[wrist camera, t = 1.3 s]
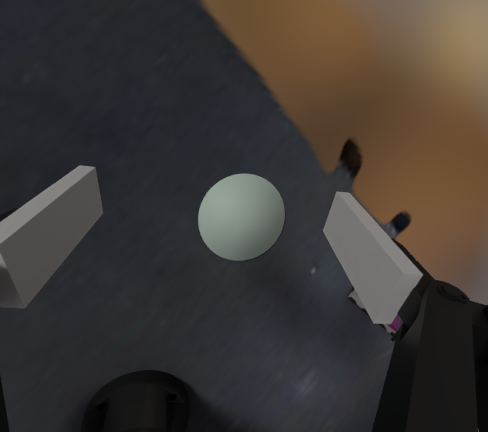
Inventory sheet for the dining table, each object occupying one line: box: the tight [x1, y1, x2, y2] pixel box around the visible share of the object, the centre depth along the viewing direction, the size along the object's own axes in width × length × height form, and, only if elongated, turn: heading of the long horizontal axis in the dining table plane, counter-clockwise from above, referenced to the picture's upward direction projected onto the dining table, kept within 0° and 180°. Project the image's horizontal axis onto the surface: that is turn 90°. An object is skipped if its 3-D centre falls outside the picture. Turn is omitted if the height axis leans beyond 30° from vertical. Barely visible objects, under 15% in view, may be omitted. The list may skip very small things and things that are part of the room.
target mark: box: [198, 174, 285, 261], centre depth 38 cm, size 13×13×1 cm
